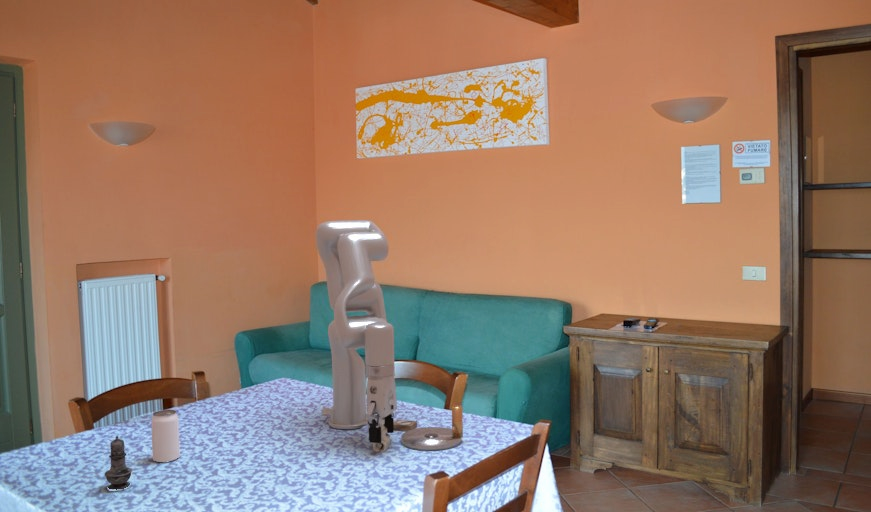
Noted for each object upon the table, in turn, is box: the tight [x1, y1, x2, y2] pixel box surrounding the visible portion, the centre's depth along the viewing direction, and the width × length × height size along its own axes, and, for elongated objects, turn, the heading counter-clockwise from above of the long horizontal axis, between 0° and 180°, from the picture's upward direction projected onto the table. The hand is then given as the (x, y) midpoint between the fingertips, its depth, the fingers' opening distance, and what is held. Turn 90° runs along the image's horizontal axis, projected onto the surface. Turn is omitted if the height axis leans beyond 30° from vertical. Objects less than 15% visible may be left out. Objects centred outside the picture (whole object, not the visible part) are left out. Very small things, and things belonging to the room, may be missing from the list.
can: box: [150, 409, 181, 463], centre depth 182 cm, size 6×6×12 cm
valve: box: [372, 405, 394, 453], centre depth 186 cm, size 7×7×12 cm
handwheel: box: [400, 404, 464, 452], centre depth 190 cm, size 16×16×9 cm
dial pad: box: [394, 419, 418, 432], centre depth 202 cm, size 6×5×3 cm
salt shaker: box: [104, 435, 133, 490], centre depth 163 cm, size 6×6×12 cm
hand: (381, 437), depth 186 cm, fingers open, 8 cm apart
